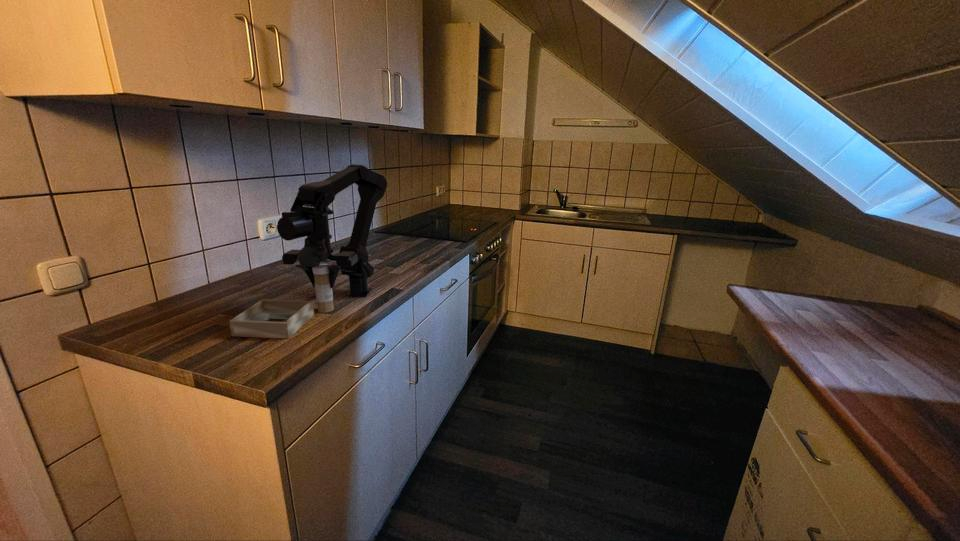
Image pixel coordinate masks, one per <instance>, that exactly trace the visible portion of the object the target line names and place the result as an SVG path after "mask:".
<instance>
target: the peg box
mask: <svg viewBox="0 0 960 541" xmlns="http://www.w3.org/2000/svg"><path fill="white" fill-rule="evenodd" d="M314 308H315V307H314V301H313V300H295V299H294V300H292V299H271V298H269V299H268V298H265V299H264V298H262V299H260V300H259V301H257V302H256V303H254V304H253V305H251V306H250V307H248V308H247V309H245V310H244V311H242V312H241V313H239V314H238V315H236V316H235V317H233V318H232V319H230V320H229V321H228V322H229V328H230V334H231V337H242V338H243V337H245V338H247V337H248V338H264V339H265V338H266V339H267V338H269V339H290V338H291V337H292V336H293V335H294V334H296V332H297V331H299V330H300V329H301V328H302V327H303V326H304V325H305V324H306V323H308V321H309V320H310V319H311V318H312V317H313V316H314V315H315V309H314ZM271 319H272V320H273V319H274V320H275V319H276V320H285V321H270V320H271Z"/></svg>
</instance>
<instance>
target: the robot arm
mask: <svg viewBox="0 0 960 541" xmlns="http://www.w3.org/2000/svg"><path fill="white" fill-rule="evenodd" d="M353 184H355V185H357V192H358V195H359V204H358V208H357V211H356V215H355V218H354V224H353V226H352V227H353V228H352V231H351V235H350V238H349V242H348V243H347V245H346V246H344V245H342V246H340V248H339V253H338V254H333V253H334V248H332V246H331V244H332V243H331V239H332V238H333V237H332V236H333V235H332V234H331V233H330V223H329V216H330V215H333V214H334V212H335V211H333V210H332V209H330V207H329V206H330V205H331V204H332V203H333V202H334V201H335V199H336V196H337V195H338V194H339V193H341V192H342V191H343V190H345V189H347V188H349V187H350V186H352V185H353ZM387 187H388V180H387V179H386V177H385V176H384V175H383V174H380V173H378V172H376V171H373V170H371V169H369V168H368V167H366V166H365V165H363V164H356V163H355V164H354V163H353V164H349V165H347V167H345V168H343V169H342V170H340V171H338V172H336V173H334V174H333V175H330V176H329V177H327V178H326V179H324V180H319V181H313V182H309V183H305V184H302V185H301V186H299V188H298V192H297V194H296V197H295V199H294V200H293V203H292V206H291V208H290V210H289V211H283V212H281V218H279V219H278V221H277V225H276V230H277V233H278V235H279V236H280V237H281V238H282V239H283V240H285V241H293V240H297V239H301V238H304V237H305V238H304V241H303V242H304V246H302V248H301V249H290V250H288V251H286V252H284V253H283V254H282V255H281V260H282V261H281V263H282V264H283V265H287V266H289V265H291V266H292V265H295V264H296V265H295V266H296V268H299V269H301V270H302V271H304V272H305V274H306V276H307V277H308V279H309V281H310V283H311V284H312V285H311V286H313V288H315V280H314V273H313V268H312V267H318V266H319V264H321V262H325V263H326V262H330V264H329V265H330V266H329V267H327V268H328V270H329V276H330V288H332V289H333V288H334V286H335V283H336V280H337V278H338V277H337V276H338V274H339V271H340V272H341V275H342V276H348V287H349V290H348V291H347V293H346V294H345V296H346V297H364V298H365V297H367V296H368V295H369V294H370V292H372V289H373V288H372V287H369V282H368V278H371V277H372V276H373V275H374V271H375V267H374V266H373V265H371V263H370V262H369V254H368V249H367V242H368V238H369V235H370V231H371V226H372V223H373V218H374V214H375V210H376V207H377V206H376V205H377V203H378V202H380V201H381V199H382V198H383V197H384V195H385V194H386V190H387Z"/></svg>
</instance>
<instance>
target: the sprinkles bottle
mask: <svg viewBox="0 0 960 541" xmlns="http://www.w3.org/2000/svg"><path fill="white" fill-rule="evenodd" d="M330 265H331V264H328V263H320V264H319V266H318V267H312V268H313V273H314V280H315V287H314V289H315V290H314V291H315V298H316V305H317V308H316V310H317V312H318V313H324V314H325V313H326V314H327V313H331V312H332V311H334V310H335V306H334V295H333V288H330V276H329V270H328V268H327V267H329V266H330Z"/></svg>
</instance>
